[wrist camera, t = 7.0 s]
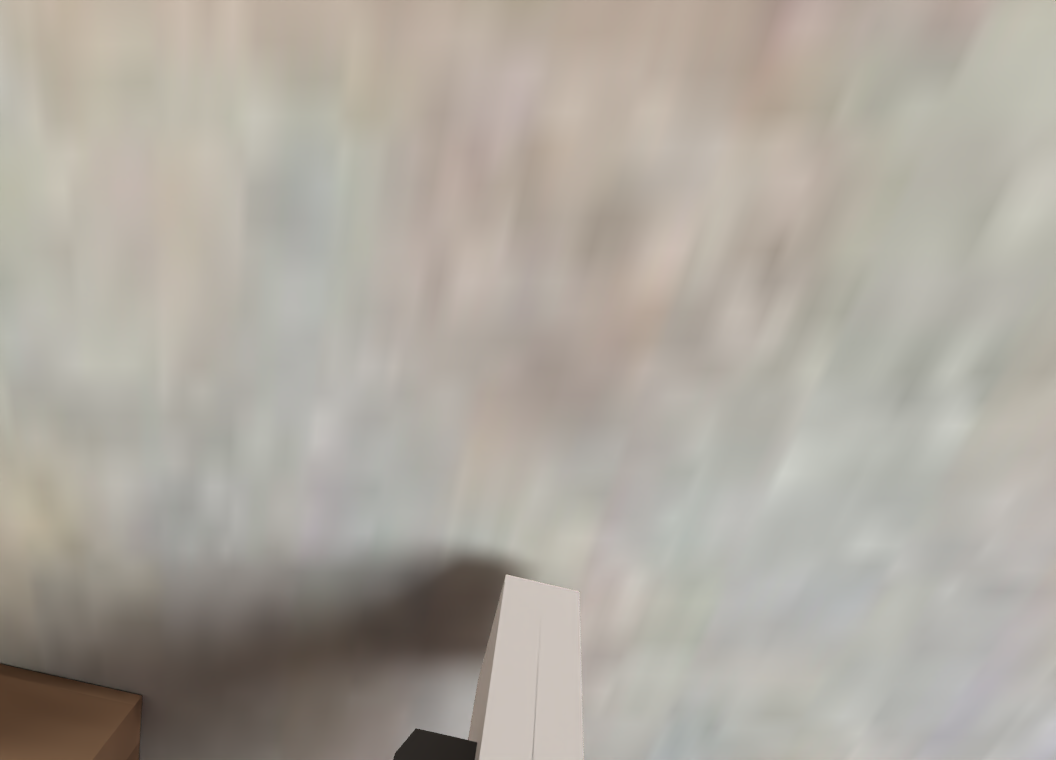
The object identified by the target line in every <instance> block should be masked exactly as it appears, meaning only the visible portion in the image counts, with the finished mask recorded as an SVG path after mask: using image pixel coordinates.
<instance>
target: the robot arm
mask: <svg viewBox="0 0 1056 760" xmlns="http://www.w3.org/2000/svg"><path fill="white" fill-rule="evenodd" d="M393 760H584V750H583V710H582V670H581V630H580V591H576V590H572V589H567V588H563V587H559V586H554V585H550V584H546V583H541V582H537V581H533V580H528V579H524V578H520V577H515V576H511V575H507V574H506V576H505V580H504V584H503V587H502V591H501V595H500V599H499V603H498V606H497V610H496V614H495V618H494V622H493V625H492V629H491V633H490V637H489V641H488V644H487V648H486V652H485V656H484V660H483V664H482V667H481V671H480V675H479V679H478V684H477V690H476V696H475V701H474V707H473V713H472V719H471V725H470V731H469V737H468V740H465V739H460V738H456V737H452V736H447V735H443V734H438V733H434V732H429V731H425V730H421V729H415V730H414V731H413V733H412V734H411V735H410V736H409V737H408V739H407V740H406V741H405V742H404V743H403V745H402V746H401V747H400V748H399V749H398V751H397V752H396V753H395V756H394V759H393Z"/></svg>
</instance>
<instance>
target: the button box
mask: <svg viewBox="0 0 1056 760" xmlns="http://www.w3.org/2000/svg"><path fill="white" fill-rule="evenodd" d="M141 708H142V696H141V695H137V694H132V693H128V692H123V691H119V690H115V689H110V688H106V687H101V686H97V685H92V684H88V683H83V682H79V681H74V680H70V679H65V678H61V677H57V676H52V675H48V674H43V673H39V672H34V671H30V670H25V669H21V668H16V667H12V666H7V665H3V664H0V760H139V747H140V727H141Z"/></svg>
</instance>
